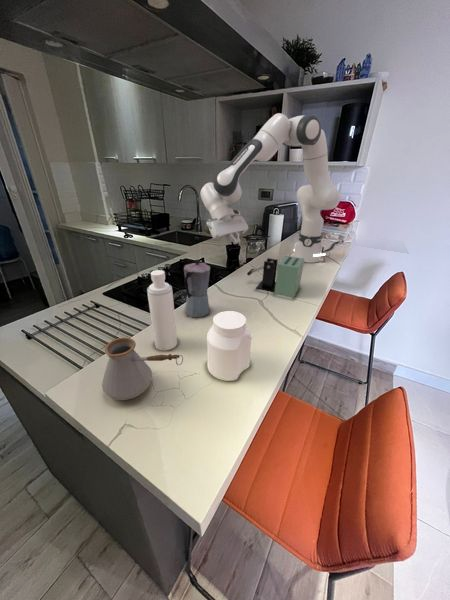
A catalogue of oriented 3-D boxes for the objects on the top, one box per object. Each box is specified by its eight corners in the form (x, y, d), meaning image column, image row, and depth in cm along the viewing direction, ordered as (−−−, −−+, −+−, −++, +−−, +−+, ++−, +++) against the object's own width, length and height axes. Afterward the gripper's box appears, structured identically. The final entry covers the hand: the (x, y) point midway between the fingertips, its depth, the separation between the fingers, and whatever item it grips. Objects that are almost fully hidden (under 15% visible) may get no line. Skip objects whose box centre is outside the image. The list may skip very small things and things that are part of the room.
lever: (248, 276, 113) (246, 271, 112) (252, 272, 116) (250, 268, 116) (272, 268, 106) (270, 262, 105) (276, 264, 110) (274, 259, 109)
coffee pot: (93, 397, 60) (76, 347, 53) (126, 365, 70) (116, 319, 62) (172, 428, 54) (165, 376, 46) (197, 388, 63) (194, 340, 56)
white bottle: (182, 341, 79) (175, 265, 67) (166, 353, 74) (156, 273, 62) (166, 334, 82) (157, 260, 70) (150, 345, 77) (138, 267, 65)
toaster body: (274, 295, 107) (278, 264, 100) (281, 285, 116) (285, 255, 110) (293, 300, 104) (298, 267, 97) (299, 288, 113) (304, 258, 107)
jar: (227, 347, 77) (228, 304, 70) (254, 361, 72) (258, 316, 65) (201, 369, 69) (199, 322, 62) (230, 386, 64) (231, 337, 57)
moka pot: (216, 304, 100) (216, 255, 90) (202, 326, 87) (200, 271, 77) (193, 301, 102) (190, 252, 93) (176, 321, 89) (171, 267, 79)
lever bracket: (255, 290, 111) (258, 262, 105) (263, 282, 119) (265, 255, 113) (273, 294, 108) (277, 266, 102) (280, 285, 116) (283, 258, 110)
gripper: (208, 215, 106) (224, 243, 105) (241, 210, 119) (256, 235, 117) (201, 224, 111) (217, 251, 110) (234, 218, 124) (248, 242, 122)
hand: (237, 243), depth 114 cm, fingers closed
